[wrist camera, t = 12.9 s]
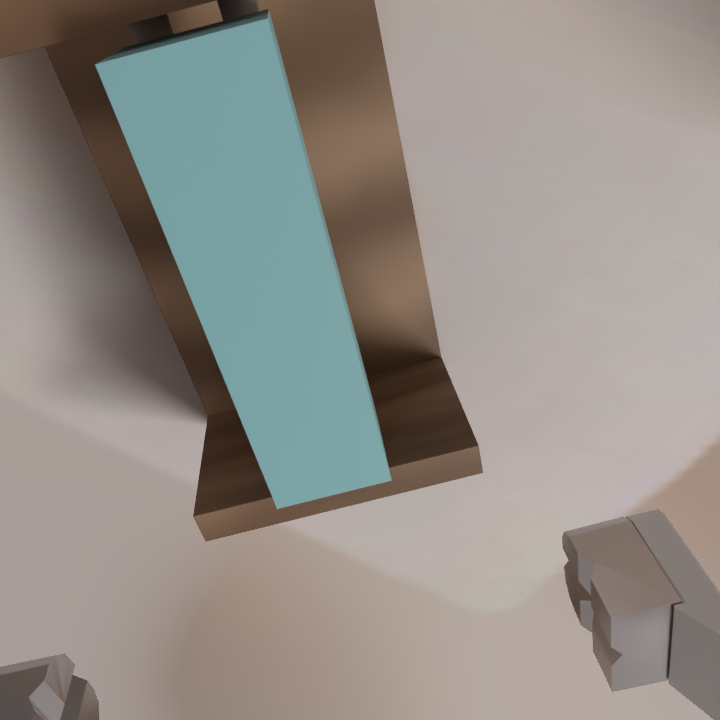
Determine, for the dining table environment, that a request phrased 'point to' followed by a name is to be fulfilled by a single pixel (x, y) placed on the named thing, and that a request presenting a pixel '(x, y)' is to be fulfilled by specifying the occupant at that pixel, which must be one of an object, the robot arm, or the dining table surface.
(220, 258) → the shelf board
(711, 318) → the dining table surface
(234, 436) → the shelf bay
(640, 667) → the robot arm
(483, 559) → the dining table surface
